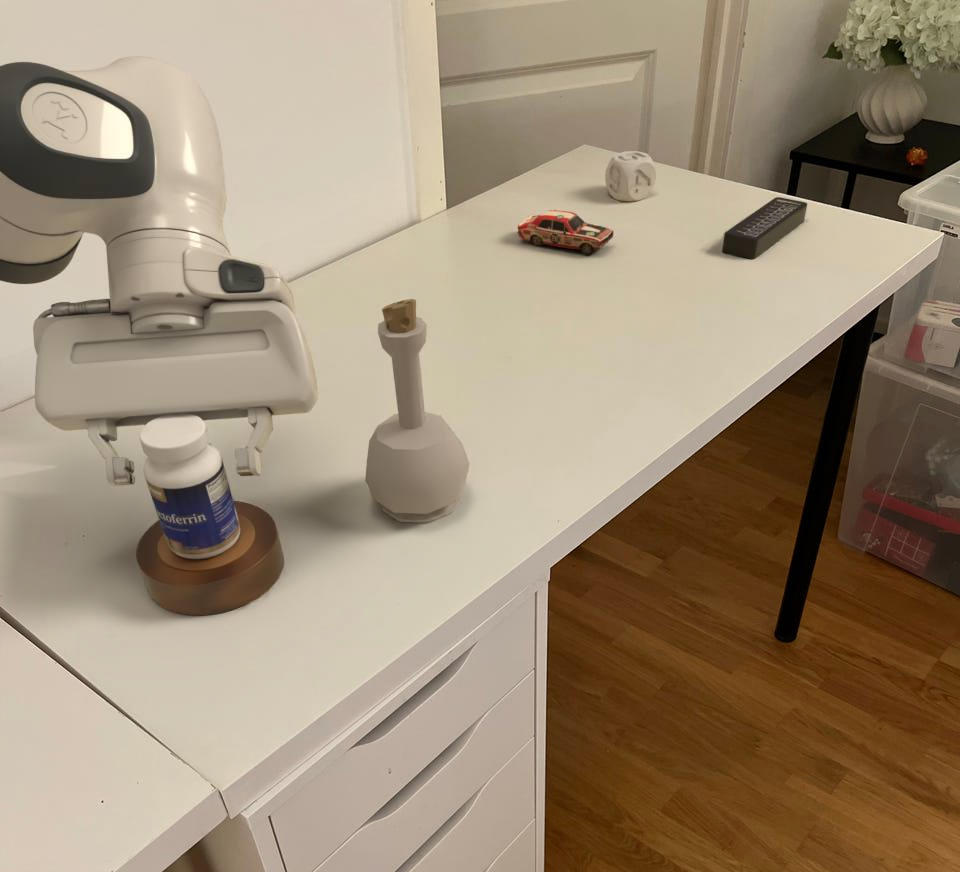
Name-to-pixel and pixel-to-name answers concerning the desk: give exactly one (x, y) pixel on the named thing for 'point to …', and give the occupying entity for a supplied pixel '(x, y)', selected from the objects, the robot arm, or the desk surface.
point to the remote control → (764, 228)
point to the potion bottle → (412, 434)
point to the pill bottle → (189, 486)
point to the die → (630, 176)
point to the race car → (564, 231)
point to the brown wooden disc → (213, 567)
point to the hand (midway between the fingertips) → (185, 479)
